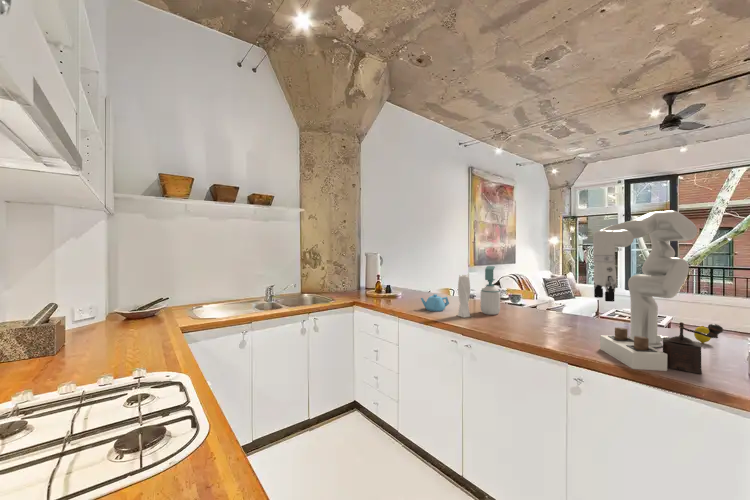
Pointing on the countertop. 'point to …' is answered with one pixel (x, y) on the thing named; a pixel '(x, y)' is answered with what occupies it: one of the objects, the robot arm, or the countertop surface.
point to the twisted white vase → (464, 296)
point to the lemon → (701, 337)
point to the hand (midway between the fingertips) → (603, 299)
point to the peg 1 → (620, 333)
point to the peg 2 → (641, 343)
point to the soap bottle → (490, 294)
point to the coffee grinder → (687, 349)
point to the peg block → (633, 354)
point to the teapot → (435, 303)
